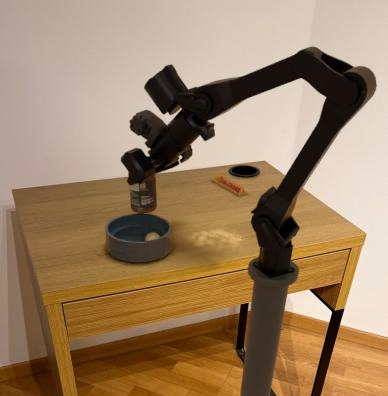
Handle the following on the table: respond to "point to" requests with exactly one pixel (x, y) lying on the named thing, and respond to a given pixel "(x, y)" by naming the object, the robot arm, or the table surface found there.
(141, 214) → the bowl
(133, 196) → the supplement bottle
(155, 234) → the bead
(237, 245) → the table surface
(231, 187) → the chocolate bar
